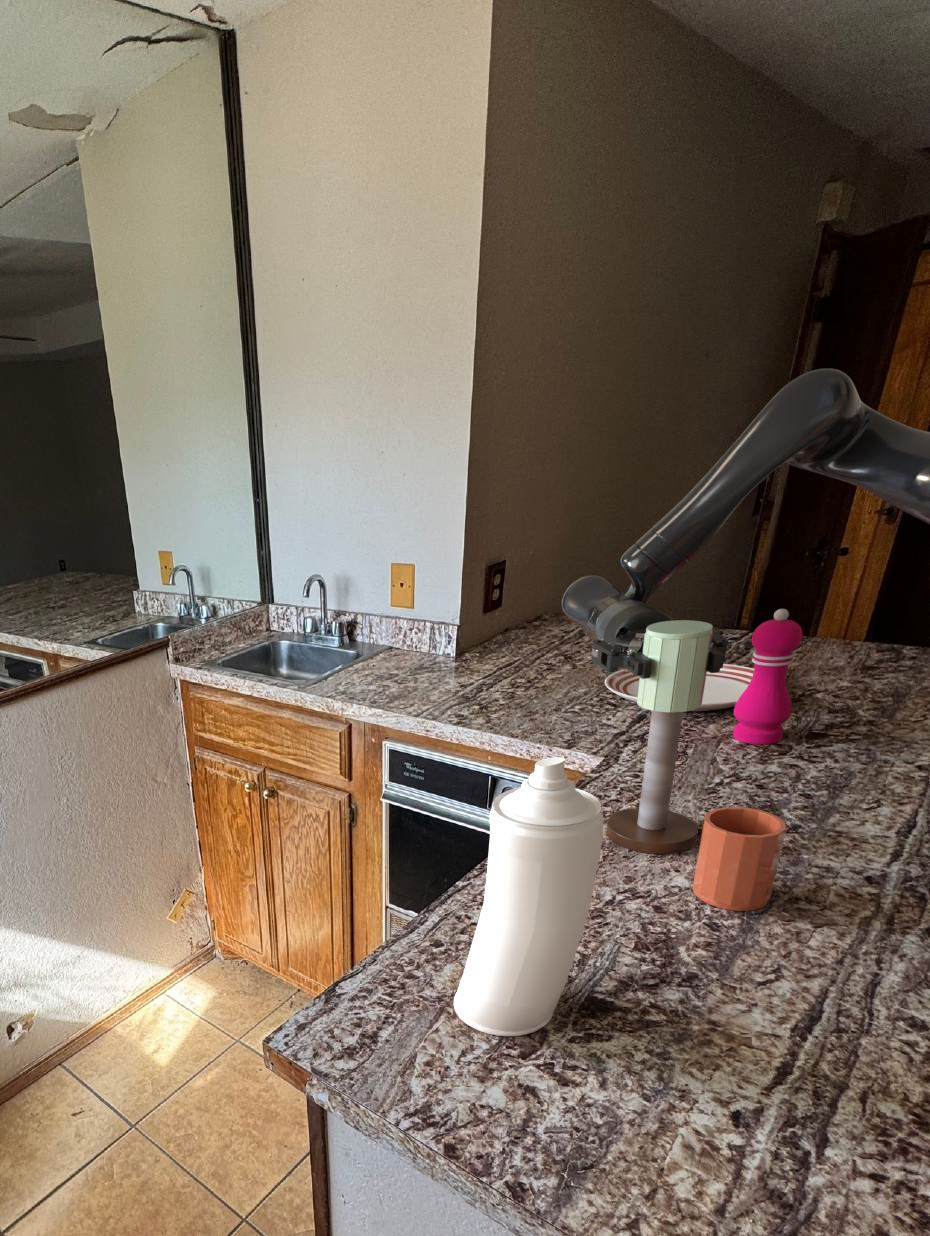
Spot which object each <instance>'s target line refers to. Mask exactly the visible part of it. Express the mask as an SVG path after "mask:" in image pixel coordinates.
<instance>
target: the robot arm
mask: <svg viewBox="0 0 930 1236" xmlns="http://www.w3.org/2000/svg"><path fill="white" fill-rule="evenodd" d="M785 463H786V464H788V465H790V466H793V467H796V468H798V469H801V470H804V471H809V472H812V473H815V474H819V475H822V476H825V477H828V478H832V479H835V480H838V481H841V482H844V483H848V484H850V485H853V486H856V487H858V488H860V489H863V490H865V491H868V492H869V493H871V494H873V495H874V496H876V497H878V498H879V499H881V500H883V501H884V502H887V503H888V504H890V505H892V506H893V507H895V508H897V509H898V510H900V511H903V512H904V513H906V514H909V515H910V516H912V517H914V518H916V519H918V520H920V521H922V522H924V523H926V524H928V525H930V431H926V430H921V429H917V428H915V427H914V428H913V427H911V426H908V425H906V424H903V423H901V422H899V421H897V420H895V419H892V418H890V417H888V416H886V415H884V414H883V413H881V412H878V411H877V410H875V409H873V408H871V407H870V406H868V405H867V404H865V403H864V402H863V401H862V400H861V398H860V396H859V393H858V390H857V388H856V386H855V384H854V382H853V380H852V379H851V378H850V376H849V375H847V374H846V373H845V372H843V371H841V370H839V369H836V368H818V369H814V370H811V371H807V372H805V373H802V374H801V375H799V376H797V377H795V378H793V379H791V381H789V382H788V383H786V384H785V385H784V386H783V387H781V389H780V390H779V391H778V392H777V393H776V394H775V395H774V396H773V397H772V398H771V399H770V400H769V401H768V402H767V404H766V405H765V406H764V407H763V408H762V409H761V410H760V412H759V413H758V414H757V415H756V417H755V418H754V419H752V421H751V422H750V424H749V425H748V426H747V428H745V430H744V431H743V432H742V433H741V435H740V436H739V437H738V438H737V439H735V442H733V444H731V446H730V447H729V448H728V449H727V450H726V452H725V453H723V455H722V456H721V457H720V458H719V459H718V461H716V462H715V464H714V465H713V466H712V467H711V468H710V469H709V471H707V473H706V474H705V475H704V476H703V477H702V478H701V479H700V480H699V481H698V483H696V484H695V485H694V486H693V488H692V489H691V490H690V491H689V492H688V493H687V494H686V495H685V496H683V498H682V499H681V500H680V501H679V502H678V503H677V504H676V505H674V506H673V508H671V509H670V511H668V512H667V513H666V514H665V515H663V517H662V518H661V519H660V520H659V521H658V522H656V523H655V524H654V525H653V526H652V527H651V528H650V529H648V530H647V532H645V533H644V534H643V535H642V536H641V537H640V538H639V539H638V540H636V542H635V543H634V544H633V545H631V546H630V547H629V548H628V549H627V550H626V551H624V553H623V554H622V555H621V558H620V565H621V567H622V569H623V571H624V573H626V575H627V576H628V578H629V580H630V585H629V588H628V590H627V591H626V593H625V594H624V593H623V592H622V591H620V590H619V589H618V588H617V587H616V586H614V585H613V584H612V583H611V582H610V581H609V580H608V579H606V578H605V577H604V576H602V575H600V574H588V575H584V576H581V577H580V578H578V579H577V580H575V581H573V582H572V583H571V584H569V586H568V587H567V588H566V590H565V591H564V593H563V596H562V599H561V609H562V612H563V614H564V615H565V616H566V617H567V618H568V619H569V620H571V621H572V622H573V624H575V625H576V626H577V627H579V628H580V629H581V630H582V631H583V632H584V633H585V634H586V635H588V636H589V637H590V638H591V639H593V640H592V646H591V647H592V648H591V659H590V661H591V662H592V663H594V664H595V665H597V666H598V667H599V668H601V669H603V670H605V672H608V673H615V672H617V671H619V670H618V669H620V668H621V669H624V671H626V672H632V673H633V674H634V675H638V676H639V677H640V678H642V679H647V678H650V675H651V667H652V661H651V659H650V658H648V657H647V656H645V655H644V654H643V645H644V637H645V633H646V628H647V626H649V625H651V624H654V623H658V622H664V621H674V620H673V618H672V617H670V615H668V614H666V613H664V611H661V610H659V609H657V608H655V607H653V606H652V605H650V604H648V602H649V601H650V600H651V599H652V597H653V596H654V595H655V593H656V592H657V591H658V590H659V589H660V587H662V585H663V584H665V582H666V581H668V580H669V579H670V578H671V577H673V575H675V574H676V573H677V572H678V571H679V570H681V569H682V568H683V567H684V566H686V564H688V563H689V562H690V561H691V560H692V559H694V557H696V556H697V555H698V554H699V553H700V552H701V551H702V550H703V549H704V548H705V547H706V546H707V545H708V544H709V543H710V542H711V540H712V539H713V538H714V537H715V536H716V534H717V533H718V532H719V531H720V529H721V528H722V527H723V526H724V524H725V523H726V521H727V520H728V519H729V518H730V517H731V515H732V514H733V513H734V511H735V510H736V509H737V508H738V506H739V505H740V504H741V503H742V502H743V501H744V500H745V498H746V497H747V496H748V495H749V494H750V493H751V492H752V491H753V490H755V488H757V486H758V485H759V484H760V483H761V482H763V481H764V480H765V479H766V478H767V477H768V476H769V475H770V474H771V473H773V472H774V471H775V470H777V469H778V468H780V467H781V466H782V465H784V464H785ZM712 631H713V635H712V641H711V648H710V654H709V661H708V667H707V671H708V672H710V673H718V672H719V671H720V669H721V668H723V664H724V663H725V662H726V659H727V656H726V655H727V651H728V649H727V648H728V645H729V640H728V638H726V637H725V636H723V635H722V634H721V633H719V632H718V631H717V630H715V629H713V630H712Z"/></svg>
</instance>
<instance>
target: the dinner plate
mask: <svg viewBox="0 0 930 1236" xmlns="http://www.w3.org/2000/svg"><path fill="white" fill-rule="evenodd" d="M753 673H754V667H749V666H743V665H738V664H729V663H723V668H721V669H720V671H719V672H718V673H710V672H708V671H707V674H706V680H705V687H704V693H703V700H702V704H701V705H700V707H699V708H697V709H694V710H691V711H690V712H708V711H719V710H724V709H729V708H733V707H734V708H735V705H736V703H737V701H738V699H739V697H740V696H741V695H742V693H743V692H744V691H745V690H746V688H747V687H748V685H749V684H750V682H751V679H752V676H753ZM639 680H640V677H639V676H638V675H634V674H633V673H632V672H626V671H624V668H622V669H620V670H617V671H615V672H612V673H611V674H609V675H608V676H607V677H606V678H605V679H604V685H605V687H606V688H607V689H608V690H609V691H610V692H612V693H614V694H615V695H617V696H619V697H621V698H622V699H623V698H624V699H626V700H629V701H631V702H634V703H637V698H638V689H639Z"/></svg>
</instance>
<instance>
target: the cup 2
mask: <svg viewBox="0 0 930 1236" xmlns="http://www.w3.org/2000/svg"><path fill="white" fill-rule="evenodd" d="M786 831H787V827H786V822H785V821H784V820H783V819H781V818H780V817H779V816H778V815H776V814H773V813H770V812H768V811H765V810H763V809H757V808H750V807H745V806H724V807H718V808H713V809H711V810H710V811H708V812H706V813H705V814H704V818H703V824H702V829H701V834H700V841H699V847H698V852H697V856H696V857H697V858H696V864H695V869H694V875H693V883H692V892H693V894H694V895H695V896H696V897H697V899H699V900H701V902H704V903H705V904H708V905H710V906H713V907H716V908H719V909H723V910H727V911H736V912H750V911H757V910H760V909H763V908H764V907H766V906H767V904H769V901H770V899H771V898H772V897H771V896H772V892H773V889H774V888H773V887H774V883H775V879H776V875H777V870H778V865H779V862H780V857H781V853H782V848H783V845H784V841H785V835H786Z"/></svg>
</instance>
